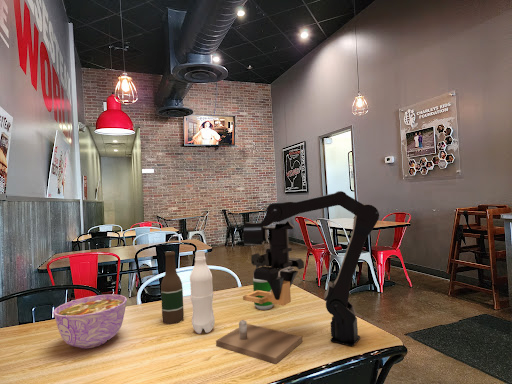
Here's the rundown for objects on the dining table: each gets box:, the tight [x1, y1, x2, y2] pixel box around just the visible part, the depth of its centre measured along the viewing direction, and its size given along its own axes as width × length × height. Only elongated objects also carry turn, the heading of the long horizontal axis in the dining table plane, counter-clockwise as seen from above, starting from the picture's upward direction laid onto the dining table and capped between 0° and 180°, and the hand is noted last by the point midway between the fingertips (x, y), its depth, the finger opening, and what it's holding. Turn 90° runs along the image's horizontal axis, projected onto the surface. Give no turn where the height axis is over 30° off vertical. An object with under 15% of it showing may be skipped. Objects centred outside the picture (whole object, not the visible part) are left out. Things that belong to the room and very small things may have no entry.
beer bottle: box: [160, 250, 185, 325], centre depth 113 cm, size 8×8×24 cm
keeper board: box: [215, 319, 303, 365], centre depth 91 cm, size 20×14×7 cm
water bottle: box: [189, 250, 216, 334], centre depth 103 cm, size 7×7×25 cm
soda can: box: [252, 277, 275, 311], centre depth 122 cm, size 8×8×12 cm
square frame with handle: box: [242, 281, 292, 307], centre depth 98 cm, size 14×7×6 cm, turn 52°
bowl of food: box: [52, 294, 128, 349], centre depth 98 cm, size 20×20×12 cm
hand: (281, 297), depth 95 cm, fingers closed on square frame with handle, 4 cm apart
